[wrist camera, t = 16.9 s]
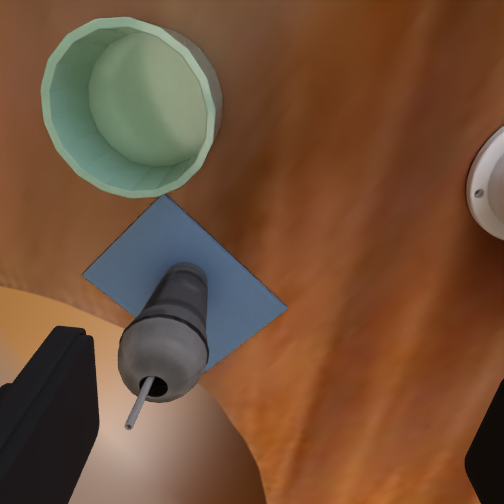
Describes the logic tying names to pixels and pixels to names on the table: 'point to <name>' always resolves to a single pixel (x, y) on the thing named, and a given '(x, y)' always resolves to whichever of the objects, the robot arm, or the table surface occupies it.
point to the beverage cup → (167, 340)
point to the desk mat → (192, 251)
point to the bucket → (131, 106)
